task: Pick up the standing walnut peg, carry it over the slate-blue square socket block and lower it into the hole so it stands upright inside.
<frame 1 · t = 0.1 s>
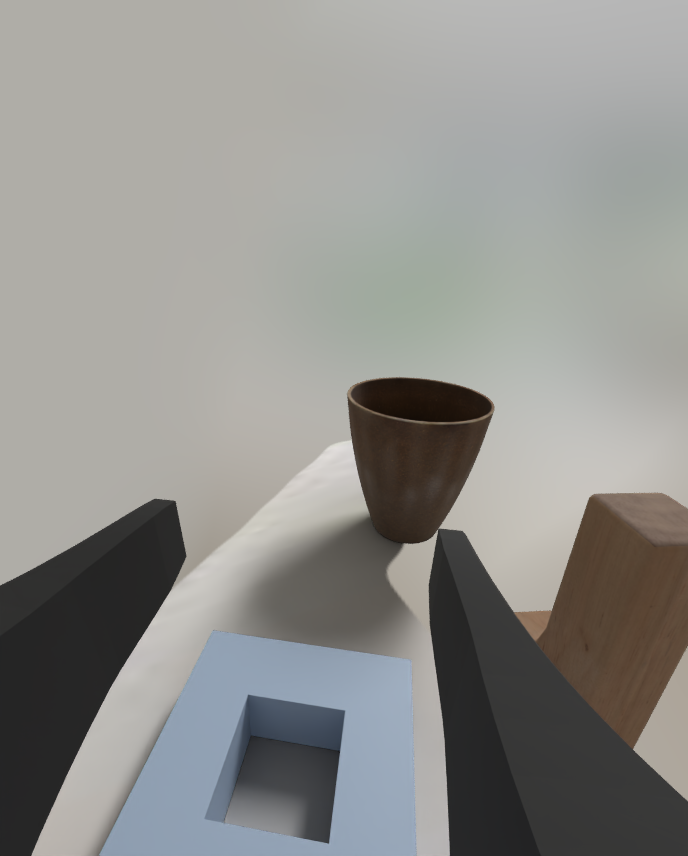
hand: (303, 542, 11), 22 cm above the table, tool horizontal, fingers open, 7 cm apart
plant pot: (403, 524, 48), on the table
wooden block: (545, 709, 29), on the table
socket: (283, 800, 23), on the table
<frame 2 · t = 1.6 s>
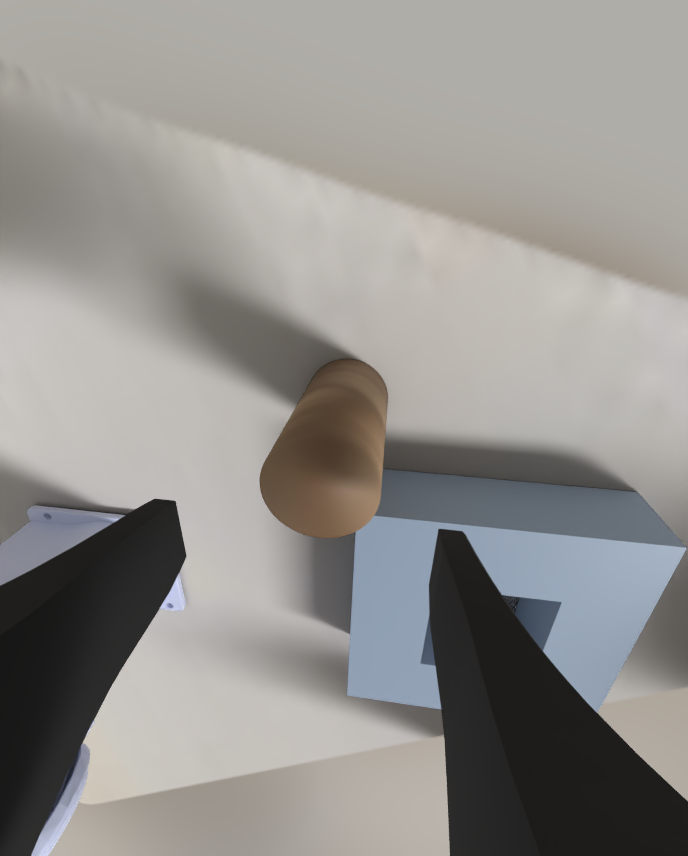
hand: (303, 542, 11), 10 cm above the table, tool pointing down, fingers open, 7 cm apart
peg: (347, 397, 20), on the table
socket: (473, 575, 24), on the table
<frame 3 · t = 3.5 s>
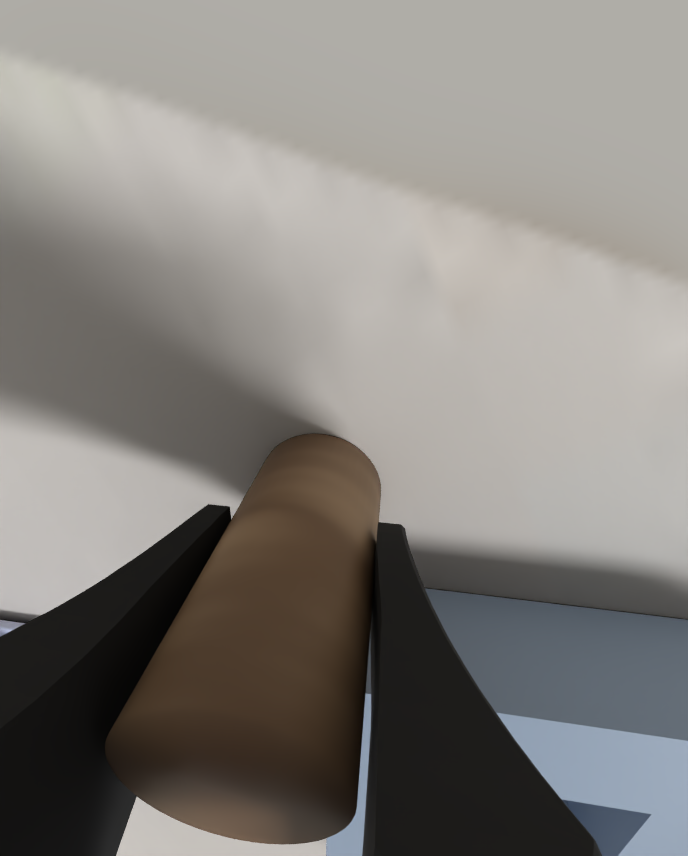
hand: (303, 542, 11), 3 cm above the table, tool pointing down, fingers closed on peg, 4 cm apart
peg: (320, 487, 13), on the table, touching gripper
socket: (501, 714, 18), on the table
when the fingers open (5 cm above the table, at t = 7.5 s): peg drops 2 cm, resting in socket.
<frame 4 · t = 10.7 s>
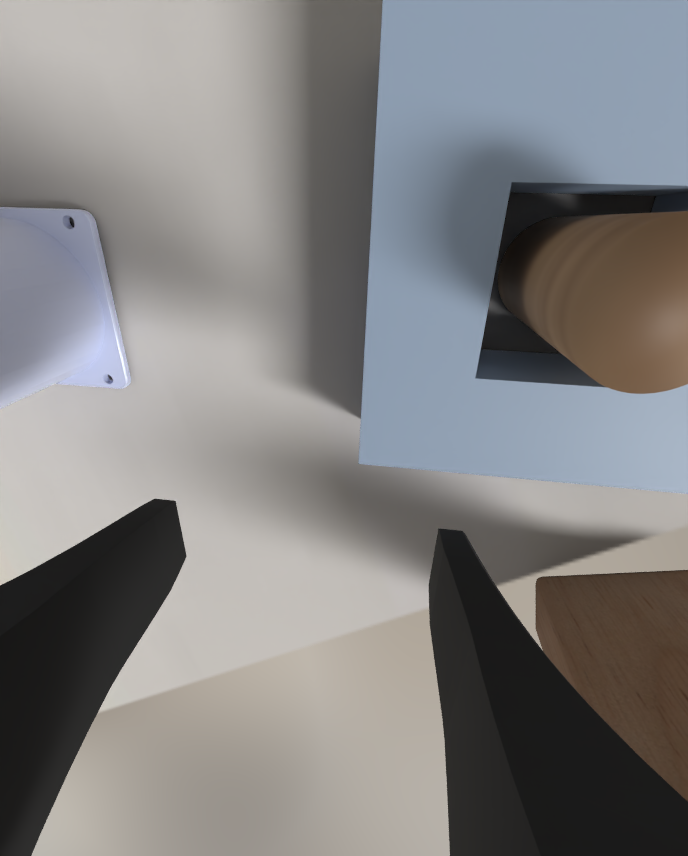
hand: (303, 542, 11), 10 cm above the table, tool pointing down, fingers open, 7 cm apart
wooden block: (615, 596, 23), on the table
peg: (550, 272, 16), resting in socket
socket: (548, 279, 16), on the table
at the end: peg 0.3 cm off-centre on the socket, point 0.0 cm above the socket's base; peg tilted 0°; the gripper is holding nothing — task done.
